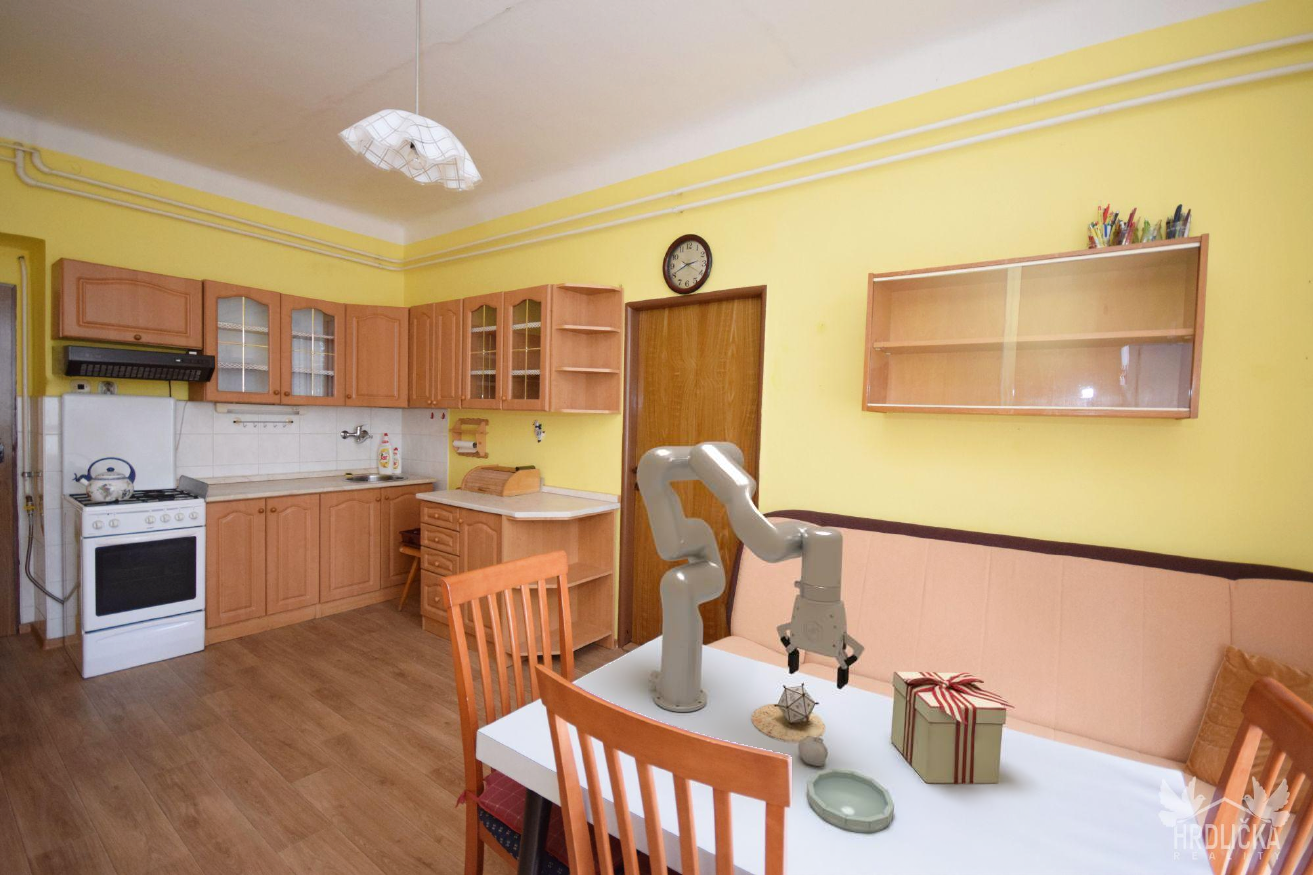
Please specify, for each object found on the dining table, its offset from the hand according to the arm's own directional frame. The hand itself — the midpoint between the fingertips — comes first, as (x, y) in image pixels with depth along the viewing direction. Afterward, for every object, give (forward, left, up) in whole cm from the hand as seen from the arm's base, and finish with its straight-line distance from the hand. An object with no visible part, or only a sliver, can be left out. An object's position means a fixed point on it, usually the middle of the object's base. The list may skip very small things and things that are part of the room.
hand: (817, 678), depth 112 cm
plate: (+10, -8, -16) cm, 21 cm away
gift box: (+21, +17, -17) cm, 32 cm away
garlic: (0, 0, -17) cm, 17 cm away
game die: (-9, +12, -17) cm, 22 cm away
